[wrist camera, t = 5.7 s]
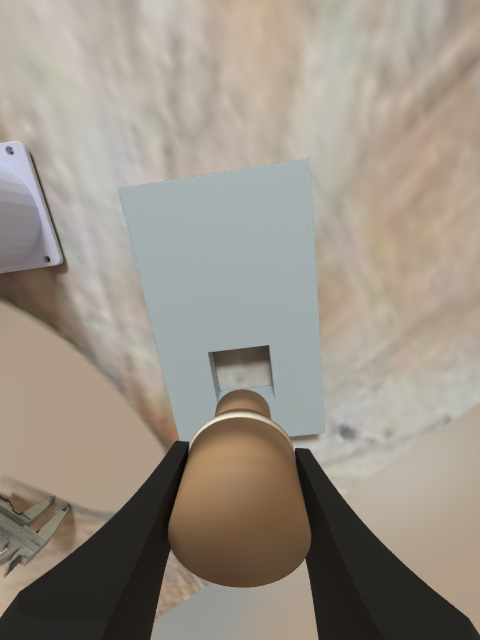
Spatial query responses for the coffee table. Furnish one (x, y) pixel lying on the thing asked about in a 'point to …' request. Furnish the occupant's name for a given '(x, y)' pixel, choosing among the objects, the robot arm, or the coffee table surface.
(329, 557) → the robot arm
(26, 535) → the caliper
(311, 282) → the board
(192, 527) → the peg
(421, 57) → the coffee table surface
